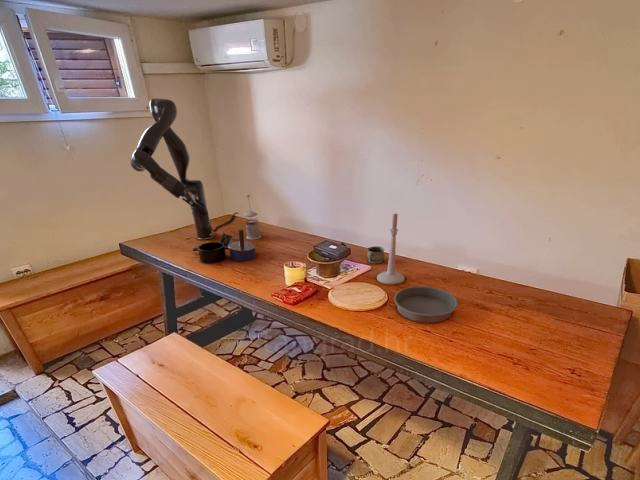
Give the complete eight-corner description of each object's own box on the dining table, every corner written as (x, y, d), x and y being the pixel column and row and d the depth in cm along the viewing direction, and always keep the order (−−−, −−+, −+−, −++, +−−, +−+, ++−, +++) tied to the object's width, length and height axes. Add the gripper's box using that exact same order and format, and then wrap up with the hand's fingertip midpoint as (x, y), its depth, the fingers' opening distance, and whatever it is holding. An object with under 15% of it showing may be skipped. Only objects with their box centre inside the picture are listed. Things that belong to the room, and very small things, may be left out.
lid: (230, 242, 202) (228, 225, 197) (256, 243, 204) (256, 226, 199) (225, 251, 190) (224, 233, 185) (254, 253, 192) (253, 234, 187)
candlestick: (388, 286, 165) (393, 219, 148) (371, 277, 174) (374, 212, 157) (410, 280, 170) (417, 213, 153) (392, 271, 179) (397, 207, 162)
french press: (256, 233, 234) (250, 191, 220) (266, 237, 227) (261, 194, 212) (242, 237, 228) (236, 194, 214) (253, 241, 221) (246, 197, 207)
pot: (198, 255, 204) (195, 242, 200) (233, 253, 205) (230, 241, 201) (192, 264, 192) (189, 251, 188) (229, 262, 193) (227, 249, 189)
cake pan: (416, 331, 134) (417, 320, 131) (382, 302, 152) (382, 292, 150) (469, 316, 141) (471, 306, 139) (431, 291, 160) (432, 281, 158)
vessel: (373, 255, 197) (374, 244, 193) (388, 258, 193) (389, 247, 189) (362, 262, 189) (362, 251, 185) (377, 266, 185) (377, 254, 181)
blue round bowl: (232, 252, 205) (231, 244, 203) (257, 251, 206) (256, 243, 203) (229, 261, 194) (227, 252, 191) (255, 260, 195) (253, 251, 192)
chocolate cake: (229, 249, 211) (235, 231, 213) (217, 246, 210) (222, 227, 212) (231, 256, 220) (236, 238, 222) (219, 253, 219) (224, 234, 221)
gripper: (176, 182, 171) (207, 205, 180) (178, 176, 183) (207, 199, 192) (167, 195, 173) (198, 217, 182) (170, 189, 185) (199, 210, 193)
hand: (203, 208), depth 187 cm, fingers open, 8 cm apart
